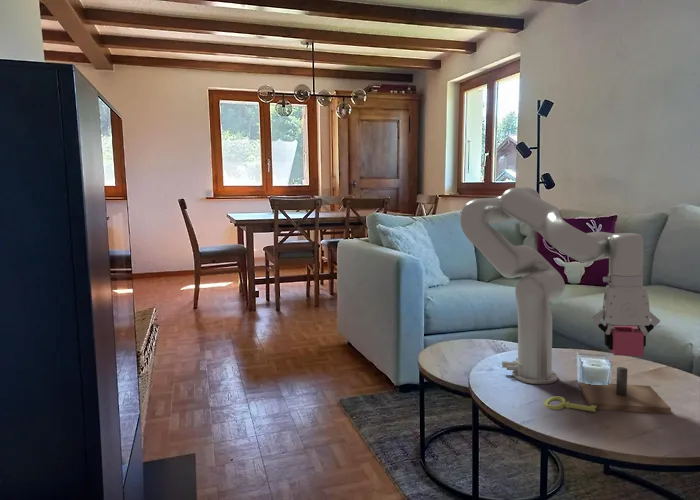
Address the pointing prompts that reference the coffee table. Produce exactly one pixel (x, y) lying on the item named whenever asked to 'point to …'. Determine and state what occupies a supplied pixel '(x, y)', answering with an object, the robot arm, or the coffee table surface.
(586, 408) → the key
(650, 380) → the coffee table surface
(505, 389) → the coffee table surface
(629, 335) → the sleeve
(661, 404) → the bobbin stand
